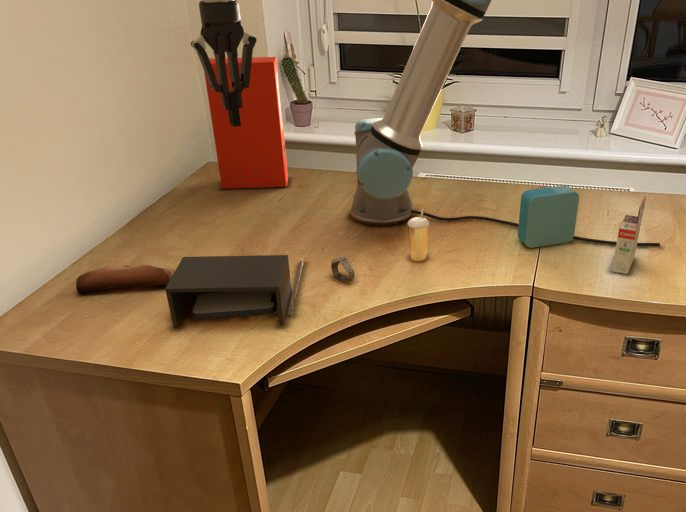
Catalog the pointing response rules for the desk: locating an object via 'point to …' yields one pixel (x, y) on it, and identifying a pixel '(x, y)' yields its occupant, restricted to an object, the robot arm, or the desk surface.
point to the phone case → (233, 304)
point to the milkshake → (418, 237)
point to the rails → (295, 289)
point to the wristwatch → (346, 265)
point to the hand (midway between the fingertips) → (235, 124)
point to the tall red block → (251, 130)
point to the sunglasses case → (123, 277)
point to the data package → (548, 216)
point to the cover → (228, 280)
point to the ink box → (627, 241)
